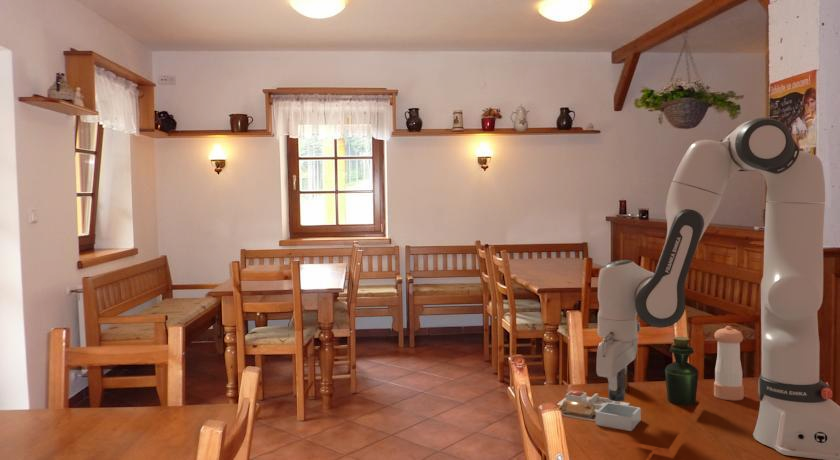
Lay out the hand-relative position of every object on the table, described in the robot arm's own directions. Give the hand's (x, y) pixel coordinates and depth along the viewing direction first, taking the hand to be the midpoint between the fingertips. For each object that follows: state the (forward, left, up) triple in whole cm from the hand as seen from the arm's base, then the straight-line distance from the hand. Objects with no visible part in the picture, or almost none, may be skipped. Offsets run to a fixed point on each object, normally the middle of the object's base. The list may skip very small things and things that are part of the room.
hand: (616, 386), depth 150 cm
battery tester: (+9, -10, -10) cm, 17 cm away
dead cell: (0, 0, -3) cm, 3 cm away
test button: (+14, -10, -8) cm, 19 cm away
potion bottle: (-10, -23, -10) cm, 27 cm away
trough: (+10, -1, -10) cm, 14 cm away
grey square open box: (0, 0, -10) cm, 10 cm away
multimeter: (+5, -31, -10) cm, 33 cm away
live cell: (+10, -1, -10) cm, 14 cm away
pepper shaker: (-19, -38, -10) cm, 44 cm away
